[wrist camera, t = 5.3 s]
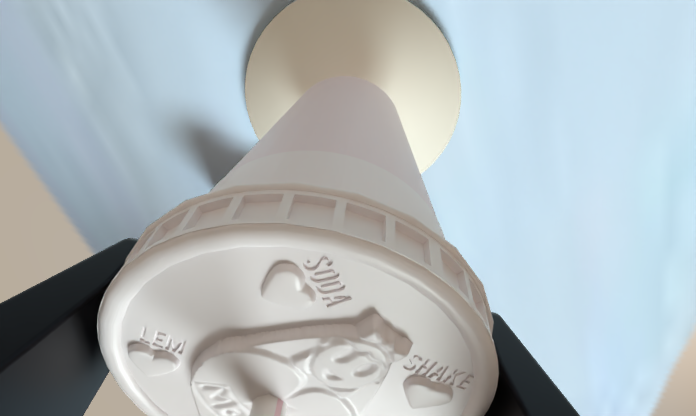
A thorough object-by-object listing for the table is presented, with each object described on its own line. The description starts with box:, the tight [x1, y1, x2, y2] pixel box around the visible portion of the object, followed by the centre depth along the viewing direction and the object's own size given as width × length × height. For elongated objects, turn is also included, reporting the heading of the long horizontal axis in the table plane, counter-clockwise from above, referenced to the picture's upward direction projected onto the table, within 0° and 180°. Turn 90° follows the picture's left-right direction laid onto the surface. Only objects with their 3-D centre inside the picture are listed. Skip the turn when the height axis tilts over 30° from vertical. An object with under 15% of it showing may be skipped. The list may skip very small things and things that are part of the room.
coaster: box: [245, 0, 461, 174], centre depth 16 cm, size 8×8×1 cm
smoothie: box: [97, 76, 499, 416], centre depth 9 cm, size 6×6×14 cm
